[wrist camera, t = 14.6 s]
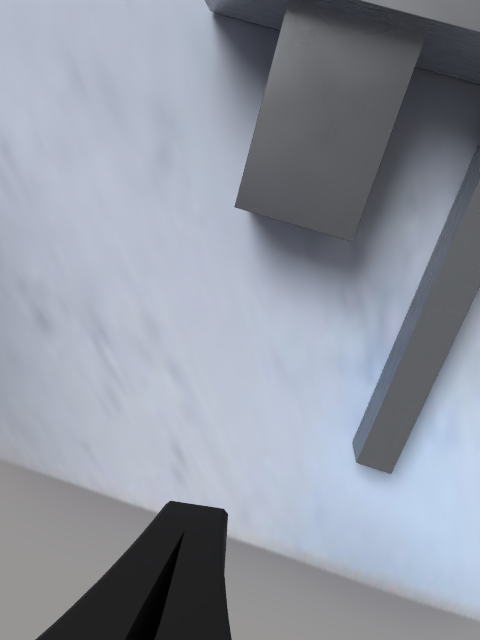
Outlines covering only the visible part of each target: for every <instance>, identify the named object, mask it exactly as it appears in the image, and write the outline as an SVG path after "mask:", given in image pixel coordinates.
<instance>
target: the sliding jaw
mask: <svg viewBox="0 0 480 640" xmlns="http://www.w3.org/2000/svg"><path fill="white" fill-rule="evenodd" d="M205 2H206V4H207V6H208V7H209V9H210V11H211V12H215V13H219V14H222V15H226V16H230V17H233V18H237V19H241V20H244V21H248V22H252V23H256V24H259V25H263V26H267V27H270V28H274V29H278V30H281V31H280V35H279V38H278V42H277V46H276V50H275V54H274V58H273V61H272V65H271V69H270V73H269V77H268V81H267V84H266V88H265V92H264V96H263V100H262V104H261V107H260V111H259V115H258V119H257V123H256V127H255V130H254V134H253V138H252V142H251V146H250V150H249V153H248V157H247V161H246V165H245V169H244V173H243V176H242V180H241V184H240V188H239V192H238V196H237V199H236V203H235V207H236V208H239V209H242V210H246V211H249V212H253V213H256V214H259V215H263V216H266V217H270V218H273V219H276V220H280V221H283V222H287V223H290V224H293V225H297V226H300V227H304V228H307V229H310V230H314V231H317V232H321V233H324V234H327V235H331V236H334V237H338V238H341V239H344V240H348V241H351V242H352V241H353V238H354V235H355V232H356V230H357V227H358V224H359V221H360V219H361V216H362V213H363V210H364V207H365V205H366V202H367V199H368V196H369V193H370V191H371V188H372V185H373V182H374V179H375V177H376V174H377V171H378V168H379V166H380V163H381V160H382V157H383V154H384V152H385V149H386V146H387V143H388V140H389V138H390V135H391V132H392V129H393V126H394V124H395V121H396V118H397V115H398V112H399V110H400V107H401V104H402V101H403V99H404V96H405V93H406V90H407V87H408V85H409V82H410V79H411V76H412V73H413V71H414V68H415V67H418V68H422V69H425V70H429V71H433V72H436V73H440V74H444V75H447V76H451V77H455V78H459V79H462V80H466V81H470V82H473V83H477V84H480V0H205Z"/></svg>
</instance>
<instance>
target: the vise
mask: <svg viewBox="0 0 480 640" xmlns="http://www.w3.org/2000/svg"><path fill="white" fill-rule="evenodd" d="M479 286H480V143H479V145H478V148H477V150H476V152H475V155H474V157H473V159H472V162H471V164H470V167H469V169H468V171H467V174H466V176H465V178H464V181H463V183H462V185H461V188H460V190H459V193H458V195H457V197H456V200H455V202H454V204H453V207H452V209H451V211H450V214H449V216H448V218H447V221H446V223H445V226H444V228H443V230H442V233H441V235H440V237H439V240H438V242H437V244H436V247H435V249H434V251H433V254H432V256H431V259H430V261H429V263H428V266H427V268H426V270H425V273H424V275H423V277H422V280H421V282H420V284H419V287H418V289H417V292H416V294H415V296H414V299H413V301H412V303H411V306H410V308H409V310H408V313H407V315H406V317H405V320H404V322H403V325H402V327H401V329H400V332H399V334H398V336H397V339H396V341H395V343H394V346H393V348H392V350H391V353H390V355H389V358H388V360H387V362H386V365H385V367H384V369H383V372H382V374H381V376H380V379H379V381H378V383H377V386H376V388H375V391H374V393H373V395H372V398H371V400H370V402H369V405H368V407H367V409H366V412H365V414H364V417H363V419H362V421H361V424H360V426H359V428H358V431H357V433H356V435H355V438H354V440H353V442H352V443H353V448H354V454H355V459H356V463H359V464H362V465H365V466H368V467H371V468H374V469H377V470H381V471H384V472H387V473H390V474H391V473H392V471H393V468H394V466H395V464H396V462H397V460H398V458H399V456H400V454H401V452H402V449H403V447H404V445H405V443H406V441H407V439H408V437H409V435H410V432H411V430H412V428H413V426H414V424H415V422H416V420H417V418H418V416H419V413H420V411H421V409H422V407H423V405H424V403H425V401H426V399H427V397H428V394H429V392H430V390H431V388H432V386H433V384H434V382H435V380H436V377H437V375H438V373H439V371H440V369H441V367H442V365H443V363H444V361H445V358H446V356H447V354H448V352H449V350H450V348H451V346H452V344H453V341H454V339H455V337H456V335H457V333H458V331H459V329H460V327H461V325H462V322H463V320H464V318H465V316H466V314H467V312H468V310H469V308H470V306H471V303H472V301H473V299H474V297H475V295H476V293H477V291H478V289H479Z"/></svg>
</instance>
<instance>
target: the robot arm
mask: <svg viewBox="0 0 480 640" xmlns="http://www.w3.org/2000/svg"><path fill="white" fill-rule="evenodd" d="M227 521H228V514H227V512H226V511H225V510H224V509H221V508H214V507H208V506H201V505H195V504H188V503H181V502H175V501H170V502H168V503H167V504H166V505H165V506H164V507H163V509H162V510H161V511H160V512H159V514H158V515H157V516H156V517H155V518H154V520H153V521H152V522H151V523H150V525H149V526H148V527H147V528H146V529H145V530H144V532H143V533H142V534H141V535H140V536H139V538H137V540H136V541H135V542H134V543H133V544H132V545H131V547H130V548H129V549H128V550H127V551H126V552H125V553H124V554H123V555H122V556H121V557H120V559H118V561H117V562H116V563H115V564H114V565H113V566H112V567H111V568H110V569H109V570H108V571H107V572H106V574H104V575H103V576H102V578H101V579H100V580H99V581H98V582H97V583H96V584H95V585H94V586H93V587H92V588H90V589H89V590H88V591H87V592H86V593H85V594H84V595H83V596H82V597H81V598H80V599H79V600H78V601H77V602H76V603H75V604H74V605H73V606H72V607H71V608H70V609H69V610H68V611H67V612H66V613H65V614H64V615H63V616H62V617H60V618H59V619H58V620H57V621H56V622H55V623H54V624H53V625H52V626H51V627H49V628H48V629H47V630H46V631H45V632H44V633H43V634H42V635H40V636H39V637H38V638H37V639H36V640H231V633H230V626H229V620H228V610H227V601H226V589H225V577H224V568H225V567H224V566H225V552H226V537H227Z"/></svg>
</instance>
